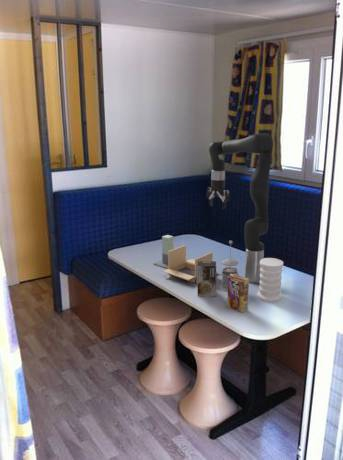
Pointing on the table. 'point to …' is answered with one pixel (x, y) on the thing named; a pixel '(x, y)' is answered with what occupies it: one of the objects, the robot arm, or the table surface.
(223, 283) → the french press
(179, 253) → the carton
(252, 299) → the table surface
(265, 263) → the decorative container
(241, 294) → the candy box
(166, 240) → the box
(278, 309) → the table surface
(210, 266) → the coffee box
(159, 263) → the mat
